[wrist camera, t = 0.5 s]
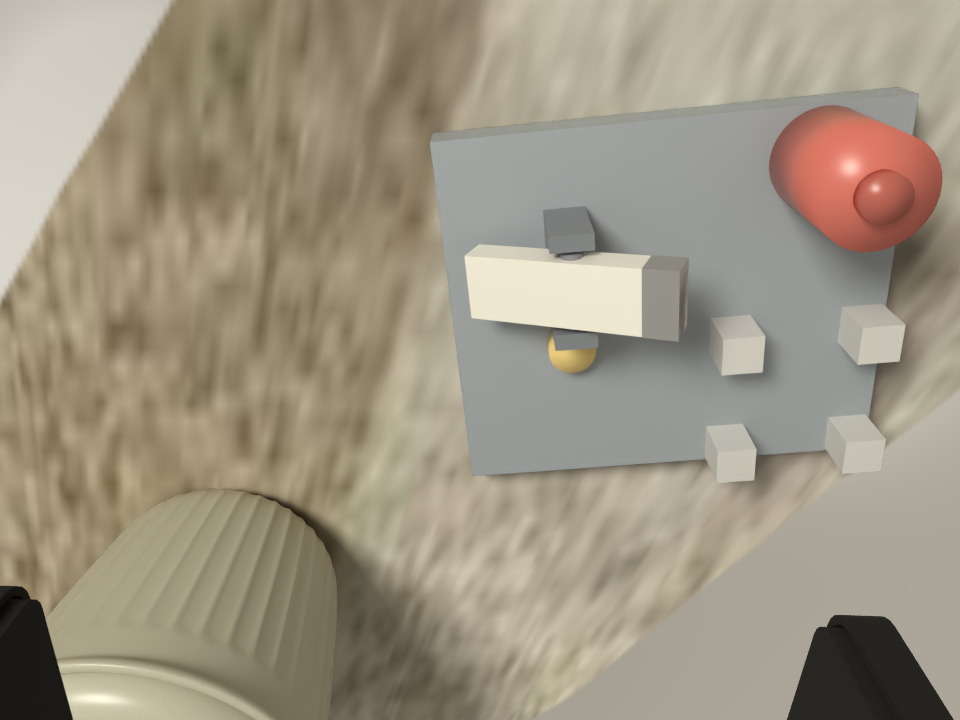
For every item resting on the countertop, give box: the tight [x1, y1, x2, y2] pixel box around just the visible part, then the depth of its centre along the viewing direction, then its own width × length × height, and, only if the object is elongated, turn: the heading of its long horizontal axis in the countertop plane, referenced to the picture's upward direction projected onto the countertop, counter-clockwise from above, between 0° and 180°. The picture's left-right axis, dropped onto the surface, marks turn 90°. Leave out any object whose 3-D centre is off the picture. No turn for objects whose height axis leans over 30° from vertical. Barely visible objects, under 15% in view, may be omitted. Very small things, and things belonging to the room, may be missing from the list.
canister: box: [46, 488, 338, 720], centre depth 41 cm, size 18×18×21 cm
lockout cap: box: [769, 105, 942, 252], centre depth 33 cm, size 5×5×7 cm
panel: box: [430, 87, 919, 483], centre depth 39 cm, size 19×22×6 cm
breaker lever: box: [464, 244, 689, 342], centre depth 35 cm, size 4×10×2 cm, turn 96°
